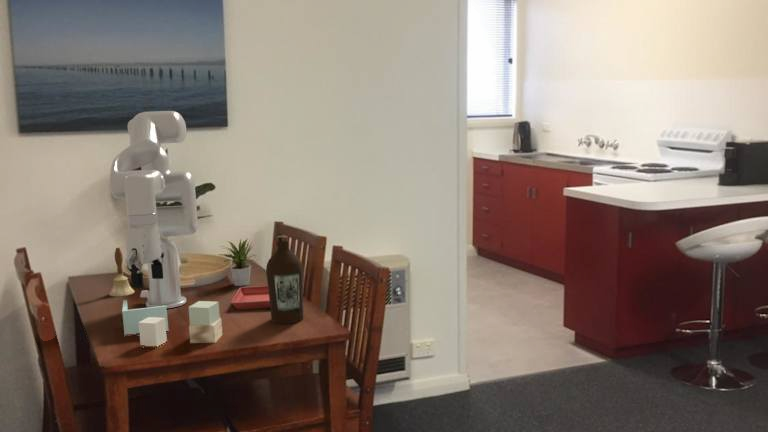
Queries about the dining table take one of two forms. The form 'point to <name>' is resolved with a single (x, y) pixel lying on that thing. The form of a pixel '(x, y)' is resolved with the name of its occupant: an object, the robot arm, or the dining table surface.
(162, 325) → the cream block
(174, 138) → the robot arm
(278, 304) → the olive oil
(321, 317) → the dining table surface
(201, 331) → the oak base block
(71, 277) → the dining table surface
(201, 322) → the sage block
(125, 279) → the hand bell
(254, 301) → the plant saucer
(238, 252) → the house plant
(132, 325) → the l-shaped corner panel
